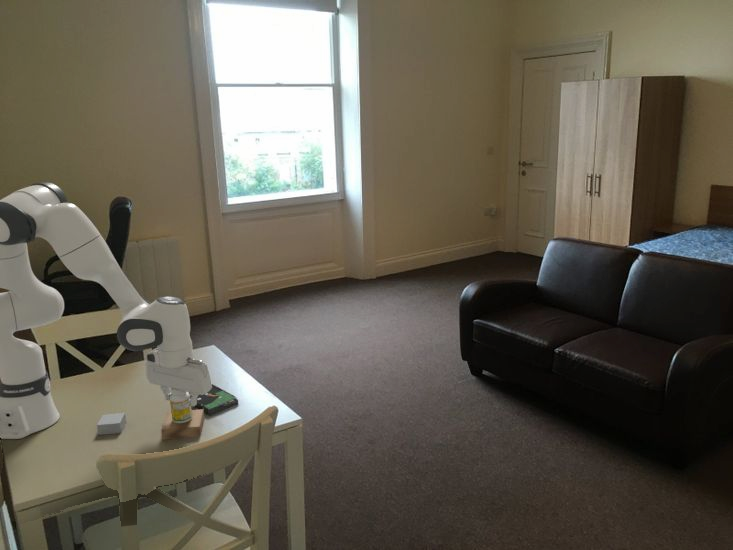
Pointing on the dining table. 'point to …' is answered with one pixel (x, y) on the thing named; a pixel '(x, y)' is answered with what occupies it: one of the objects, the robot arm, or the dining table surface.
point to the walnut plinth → (183, 426)
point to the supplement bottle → (180, 406)
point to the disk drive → (215, 401)
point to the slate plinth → (111, 423)
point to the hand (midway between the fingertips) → (181, 402)
